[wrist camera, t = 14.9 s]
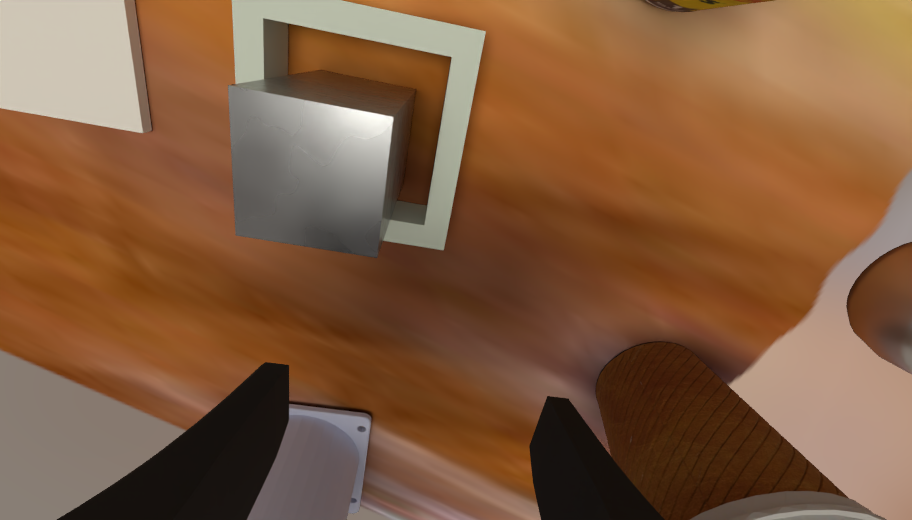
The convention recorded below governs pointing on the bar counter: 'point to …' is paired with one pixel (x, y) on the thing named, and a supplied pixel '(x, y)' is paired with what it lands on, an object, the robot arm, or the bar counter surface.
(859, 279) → the plastic bottle
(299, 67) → the bar counter surface
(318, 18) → the frame
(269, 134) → the pin block
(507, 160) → the bar counter surface
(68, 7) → the pad
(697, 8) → the supplement bottle
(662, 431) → the disposable coffee cup
